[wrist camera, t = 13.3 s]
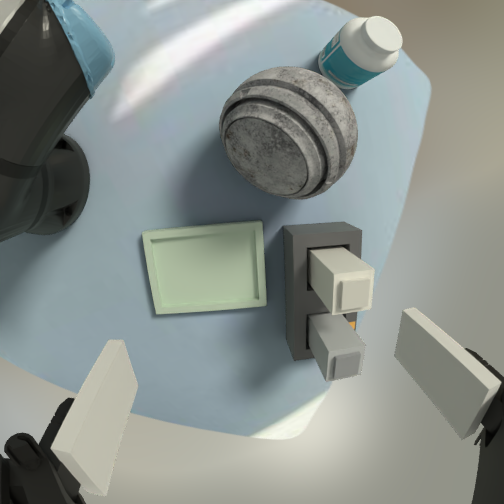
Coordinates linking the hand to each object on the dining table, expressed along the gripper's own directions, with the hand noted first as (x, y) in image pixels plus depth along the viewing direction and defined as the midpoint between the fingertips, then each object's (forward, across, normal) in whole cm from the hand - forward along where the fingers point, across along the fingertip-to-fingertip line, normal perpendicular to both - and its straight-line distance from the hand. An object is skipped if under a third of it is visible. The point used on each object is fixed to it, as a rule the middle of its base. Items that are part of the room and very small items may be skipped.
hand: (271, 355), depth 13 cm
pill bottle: (+29, +16, +23) cm, 40 cm away
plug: (+27, +10, -14) cm, 32 cm away
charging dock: (+29, +10, -9) cm, 32 cm away
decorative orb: (+29, +6, +12) cm, 32 cm away
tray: (+29, -5, -5) cm, 30 cm away
